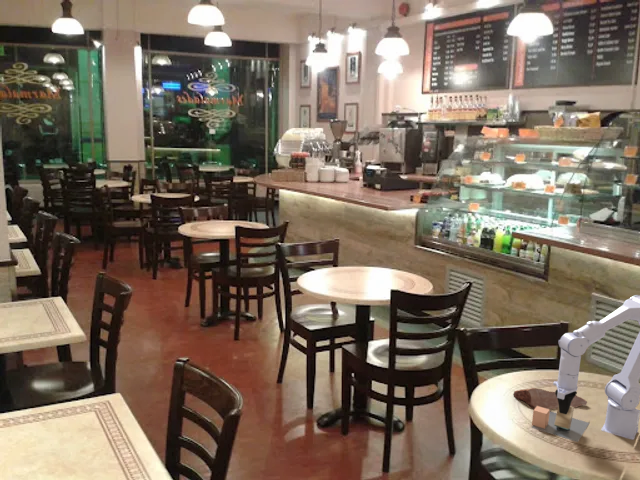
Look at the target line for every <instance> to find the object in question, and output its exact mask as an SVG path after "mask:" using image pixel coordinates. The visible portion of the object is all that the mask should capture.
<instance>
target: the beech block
mask: <svg viewBox="0 0 640 480" xmlns="http://www.w3.org/2000/svg"><path fill="white" fill-rule="evenodd" d="M556 410H557V411H556V413H557V415H556V419H555V424H554V426H557V427H560V428H564V429H567V430H568V429H570V426H571V421H572V418H573V415H574V411H575V407H571V406H570V408H569V411H568V413H567V414H563V413H560V412H559V405H558V408H557V409H556Z"/></svg>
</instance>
